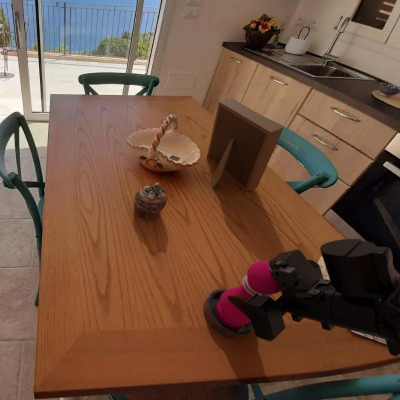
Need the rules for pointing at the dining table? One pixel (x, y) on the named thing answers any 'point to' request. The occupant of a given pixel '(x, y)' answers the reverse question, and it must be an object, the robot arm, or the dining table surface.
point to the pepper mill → (247, 294)
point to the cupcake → (150, 201)
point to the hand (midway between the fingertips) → (242, 287)
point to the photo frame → (241, 144)
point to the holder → (216, 323)
